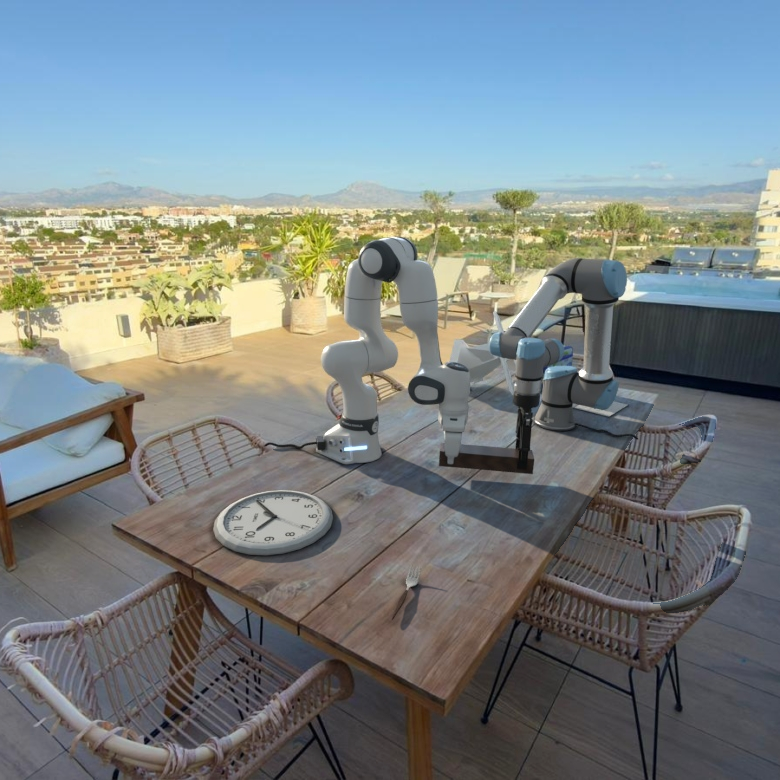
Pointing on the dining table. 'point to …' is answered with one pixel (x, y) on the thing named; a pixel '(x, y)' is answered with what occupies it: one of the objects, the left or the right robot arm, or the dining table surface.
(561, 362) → the lunch box
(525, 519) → the dining table surface
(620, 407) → the invitation card
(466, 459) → the walnut beam
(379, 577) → the dining table surface
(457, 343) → the white plastic object
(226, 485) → the dining table surface
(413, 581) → the fork
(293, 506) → the wall clock
